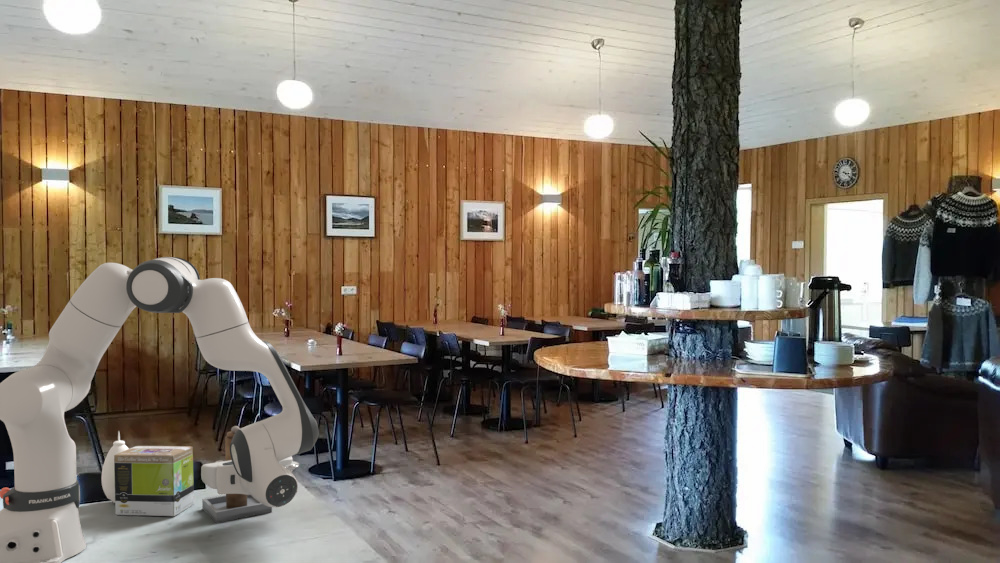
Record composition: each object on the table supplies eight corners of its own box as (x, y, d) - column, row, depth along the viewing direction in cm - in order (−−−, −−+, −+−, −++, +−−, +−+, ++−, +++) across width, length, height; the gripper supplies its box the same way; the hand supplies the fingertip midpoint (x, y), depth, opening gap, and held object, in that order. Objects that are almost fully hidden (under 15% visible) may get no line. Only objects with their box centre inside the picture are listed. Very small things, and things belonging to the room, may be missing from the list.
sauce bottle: (124, 495, 197) (123, 426, 197) (144, 500, 193) (142, 429, 193) (95, 504, 190) (94, 432, 190) (115, 509, 186) (113, 435, 186)
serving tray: (216, 522, 177) (216, 512, 177) (202, 508, 187) (202, 499, 187) (271, 512, 185) (271, 502, 185) (255, 499, 194) (255, 489, 194)
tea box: (195, 504, 191) (194, 445, 190) (174, 518, 181) (173, 455, 180) (137, 502, 192) (136, 443, 192) (113, 515, 182) (112, 453, 182)
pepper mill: (229, 511, 182) (228, 429, 182) (223, 505, 186) (222, 425, 185) (249, 507, 185) (248, 426, 184) (243, 501, 189) (242, 422, 188)
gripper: (301, 453, 179) (280, 441, 190) (211, 467, 167) (194, 454, 178) (302, 479, 179) (281, 466, 190) (211, 496, 167) (195, 481, 179)
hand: (238, 460), depth 184 cm, fingers open, 8 cm apart
